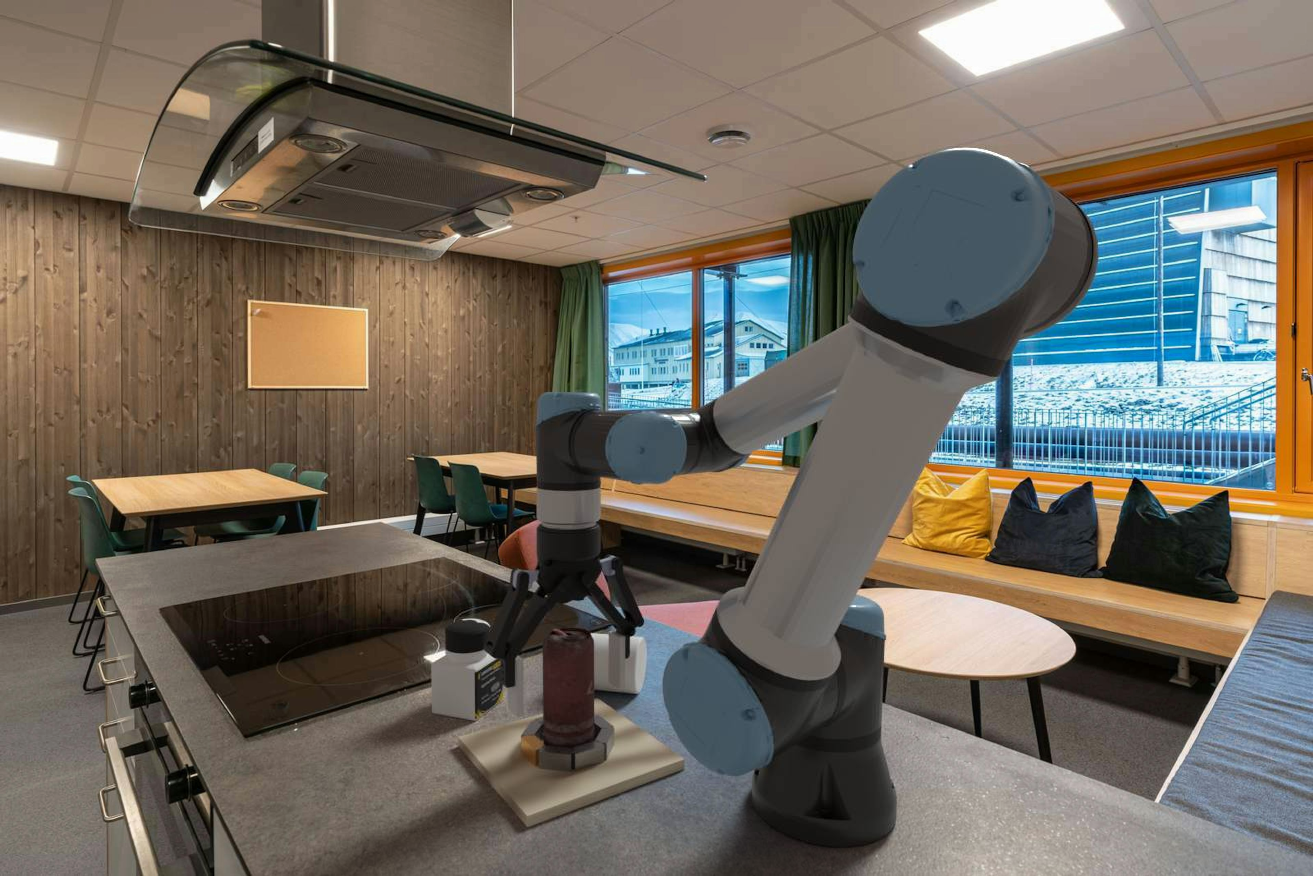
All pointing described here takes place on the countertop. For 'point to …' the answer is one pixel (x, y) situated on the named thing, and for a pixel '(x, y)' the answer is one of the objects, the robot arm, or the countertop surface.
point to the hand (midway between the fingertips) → (568, 698)
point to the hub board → (562, 791)
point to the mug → (633, 664)
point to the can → (568, 687)
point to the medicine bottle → (466, 673)
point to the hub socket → (565, 756)
